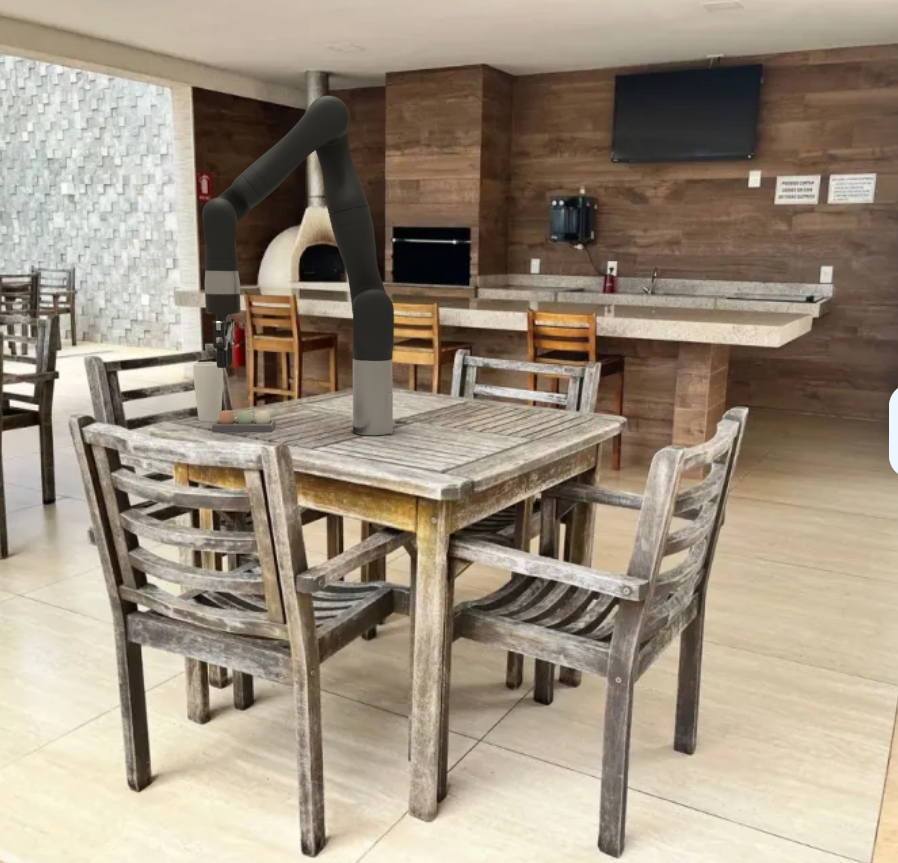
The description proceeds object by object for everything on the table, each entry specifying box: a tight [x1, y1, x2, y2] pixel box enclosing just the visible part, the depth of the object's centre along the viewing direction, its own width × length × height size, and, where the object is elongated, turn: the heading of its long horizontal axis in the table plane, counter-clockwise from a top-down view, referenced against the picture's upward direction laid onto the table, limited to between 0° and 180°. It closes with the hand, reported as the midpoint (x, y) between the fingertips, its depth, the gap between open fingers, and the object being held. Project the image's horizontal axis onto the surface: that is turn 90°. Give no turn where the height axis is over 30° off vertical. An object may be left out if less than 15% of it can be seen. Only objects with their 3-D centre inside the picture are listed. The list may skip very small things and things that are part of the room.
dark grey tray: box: [212, 418, 276, 433], centre depth 203 cm, size 13×8×3 cm, turn 95°
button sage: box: [236, 409, 253, 424], centre depth 203 cm, size 3×3×4 cm
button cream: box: [254, 409, 271, 424], centre depth 203 cm, size 3×3×4 cm
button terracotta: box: [219, 409, 235, 424], centre depth 202 cm, size 3×3×4 cm
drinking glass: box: [192, 361, 224, 422], centre depth 213 cm, size 7×7×15 cm
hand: (225, 365), depth 200 cm, fingers open, 7 cm apart
